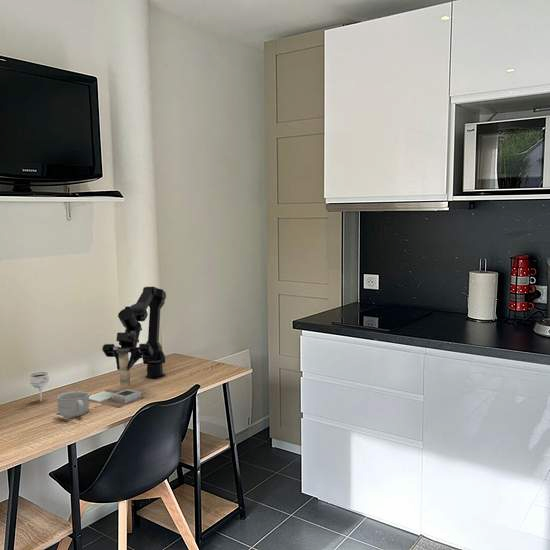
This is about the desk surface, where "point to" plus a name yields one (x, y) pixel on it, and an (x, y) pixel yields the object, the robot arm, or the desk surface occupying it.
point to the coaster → (100, 396)
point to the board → (114, 404)
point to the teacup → (73, 404)
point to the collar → (126, 396)
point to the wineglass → (39, 381)
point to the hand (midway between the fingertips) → (123, 369)
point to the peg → (124, 366)
